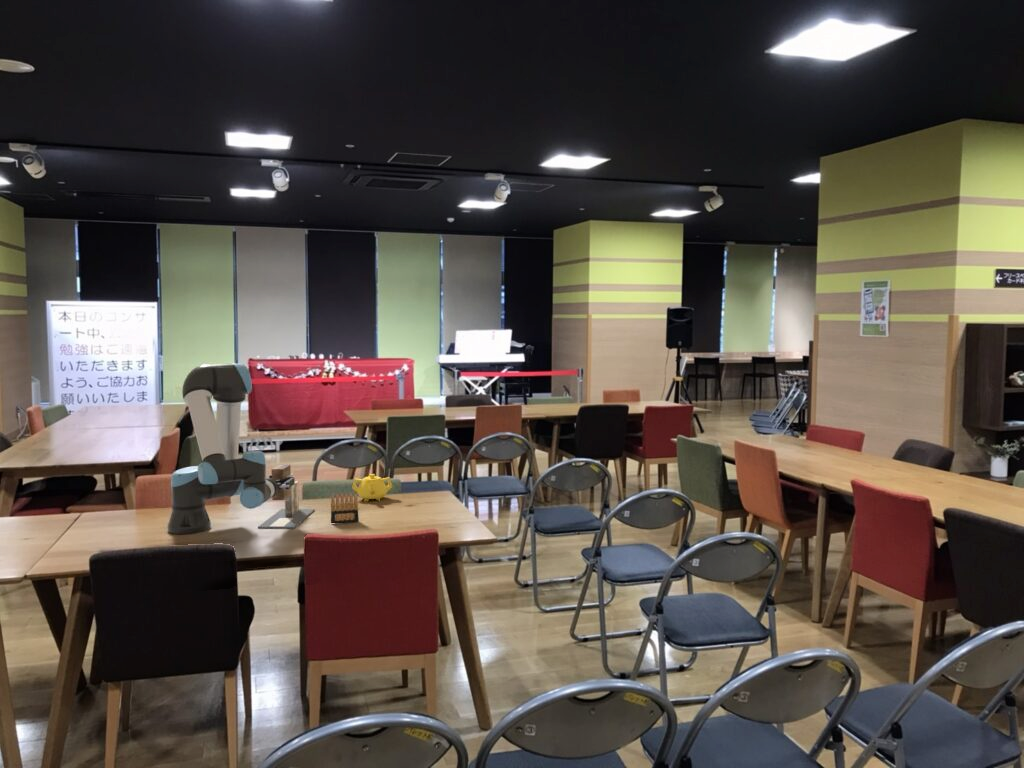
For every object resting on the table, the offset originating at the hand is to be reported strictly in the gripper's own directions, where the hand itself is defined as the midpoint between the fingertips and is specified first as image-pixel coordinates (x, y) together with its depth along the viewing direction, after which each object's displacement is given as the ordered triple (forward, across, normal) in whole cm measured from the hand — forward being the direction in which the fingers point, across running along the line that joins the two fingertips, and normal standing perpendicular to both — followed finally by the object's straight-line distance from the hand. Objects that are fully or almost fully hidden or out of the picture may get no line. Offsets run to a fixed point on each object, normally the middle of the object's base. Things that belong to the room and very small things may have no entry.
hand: (285, 477), depth 302 cm
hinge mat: (+3, -1, -18) cm, 18 cm away
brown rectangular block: (-5, 0, -7) cm, 9 cm away
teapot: (+38, +26, -18) cm, 49 cm away
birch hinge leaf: (+9, -1, -17) cm, 19 cm away
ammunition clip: (-2, +24, -18) cm, 30 cm away
